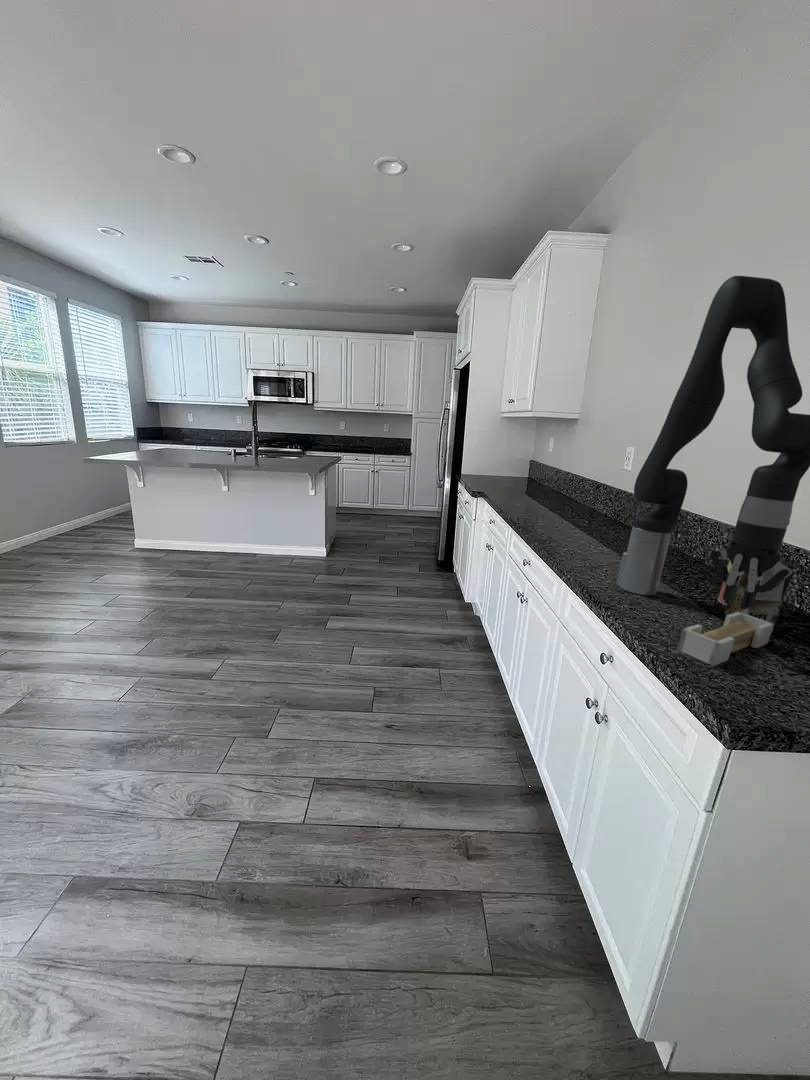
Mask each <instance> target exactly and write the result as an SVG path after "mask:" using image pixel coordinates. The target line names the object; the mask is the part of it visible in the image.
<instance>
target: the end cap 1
mask: <svg viewBox="0 0 810 1080" xmlns="http://www.w3.org/2000/svg"><path fill="white" fill-rule="evenodd" d="M702 629H703V625H701V624H699V623H696V624H695V625H691V626H687V627H685V628H682V631H681V633H680V638H679V641H678V644H677V648H676V650H677V651H680V652H681V653H684V654H686V655H688V656H691V657H693V658H694V659H697V660H698V661H701V662H703V663H706V664H708V665H710V666H712V667H716V666H717V665H720V664H722V663H724V662H726V661H729V659H730V656H731V653H730V652H731V649H732V646H733V643H734V640H735V639H734V638H731V637H727V638H724V639H722V640H719V641H715V640H713V639H711V638H708V637H706V636H703V635H701V634H702Z"/></svg>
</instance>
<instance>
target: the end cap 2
mask: <svg viewBox="0 0 810 1080" xmlns="http://www.w3.org/2000/svg"><path fill="white" fill-rule="evenodd" d="M738 621H739V622H742V623H745V624H748V625H751V626H753V627H756V628H757V629H756V632H755V635H754V638H753V641H752V644H751V645H750V647H752V648H755V649H758V648H760V647H763V646H765V645H768V643H769V641H770V638H771V636H772V635H771V634H772V633H773V632H772V629H773V626H774V624H772V623H769V622H767V621H764V620H761V619H758V618H755V617H752V616H749V615H746V614H744V613H741V612H736V613H733V614H730V615H726V614H725V619H724V623H723V626H722V627H724V626H726V625H729V624H732V623H735V622H738ZM774 627H775V626H774ZM773 630H774V629H773ZM771 632H772V633H771Z"/></svg>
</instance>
